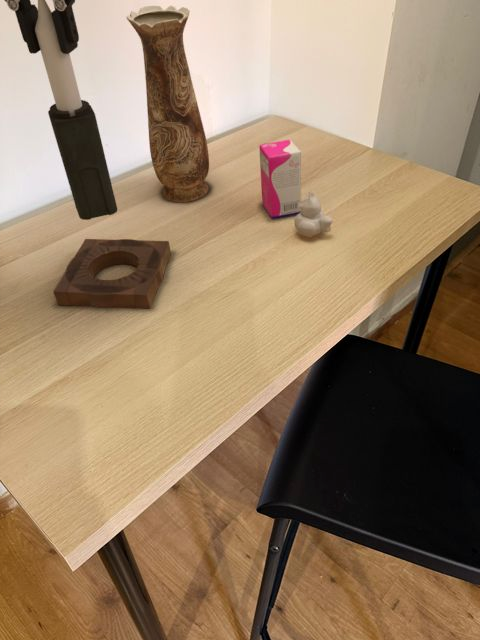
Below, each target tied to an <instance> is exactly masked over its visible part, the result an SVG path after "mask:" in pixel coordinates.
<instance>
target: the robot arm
mask: <svg viewBox="0 0 480 640" xmlns="http://www.w3.org/2000/svg"><path fill="white" fill-rule="evenodd" d="M4 2H6V5H7V7H8V9H9V10H11V11H12V12H14V13H15V17H16V20H17V23H18V26H19V30H20V33H21V37H22V40H23V41H24V43H26V47H27V50H28V52H29V53H30V54H34V55H35V54H38V53H39V52H41V50H40V46H39V43H38V39H37V36H36V32H35V26H36V23H37V19H38V6H36V4H32V1H31V0H4ZM52 3H53V7H54V10H53V11H51V12H52V19H53V22H54V26H55V30H56V34H57V38H58V42H59V46H60V49H61V52H62V53H63V54H71V53H72V52H73V51H74V50H76V49H77V48H78V45H79V44H78V42H79V41H80V35H79V31H78V27H77V22H76V17H75V13H74V9H73V5H75V3H76V0H52Z"/></svg>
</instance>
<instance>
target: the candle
mask: <svg viewBox="0 0 480 640" xmlns="http://www.w3.org/2000/svg"><path fill="white" fill-rule="evenodd" d="M37 9H38V19H37V23H36V26H35V32H36V36H37V39H38V43H39V46H40V53H41V57H42V61H43V64H44V68H45V72H46V74H47V79H48V82H49V85H50V88H51V92H52V96H53V99H54V104H52V105H51V106H50V107H49V110H48V111H47V113H48V114H47V115H48V117H49V121H50V124H51V127H52V131H53V134H54V138H55V141H56V144H57V148H58V151H59V154H60V158H61V161H62V165H63V168H64V172H65V175H66V178H67V182H68V185H69V189H70V192H71V196H72V198H73V202H74V205H75V209H76V212H77V214H78V218H79V219H80V220H83V221H84V220H85V221H90V220H92V219H95V218H101V217H105V216H111V215H114V214H116V213H117V212H118V206H117V201H116V197H115V193H114V189H113V185H112V180H111V176H110V172H109V168H108V163H107V159H106V155H105V150H104V146H103V142H102V137H101V133H100V129H99V125H98V120H97V117H96V116H97V115H96V113H95V110H94V109H93V108H92V105H91V104H90V103H89V102H88V101H87V100H83V99H81V95H80V89H79V86H78V82H77V79H76V75H75V74H76V73H75V70H74V66H73V62H72V58H71V53H69V54H63V53H62V52H61V49H60V46H59V42H58V38H57V34H56V30H55V26H54V22H53V19H52V12H53V11H52V10H51V9H50V6H49V4H48V3H47V1H46V0H37Z"/></svg>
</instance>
